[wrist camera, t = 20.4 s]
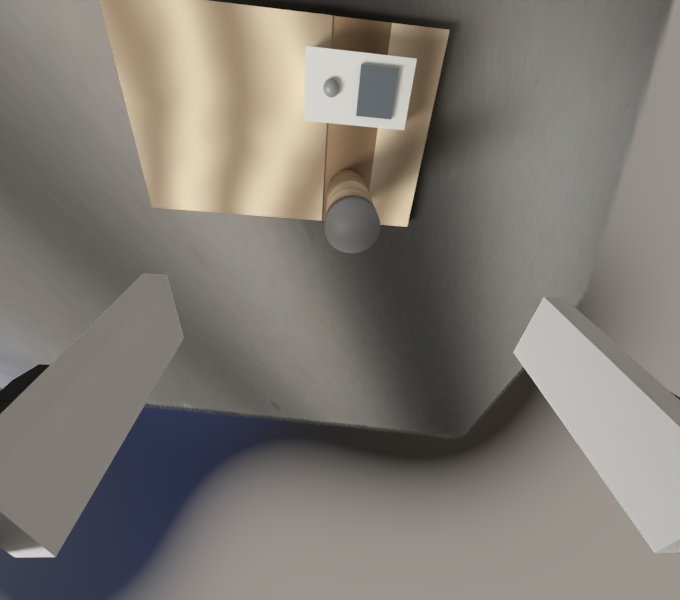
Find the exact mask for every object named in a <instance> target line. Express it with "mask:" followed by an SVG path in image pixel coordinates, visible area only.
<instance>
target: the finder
mask: <svg viewBox="0 0 680 600" xmlns="http://www.w3.org/2000/svg"><path fill="white" fill-rule="evenodd" d="M416 62H417V59H416V58H407V57H398V56H390V55H381V54H373V53H364V52H355V51H347V50H338V49H329V48H321V47H312V46H306V60H305V114H304V121H311V122H322V123H332V124H343V125H353V126H363V127H374V128H384V129H395V130H404V129H405V123H406V118H407V112H408V106H409V101H410V95H411V90H412V84H413V78H414V73H415V67H416Z"/></svg>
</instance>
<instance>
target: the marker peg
mask: <svg viewBox="0 0 680 600" xmlns="http://www.w3.org/2000/svg"><path fill="white" fill-rule="evenodd" d="M379 231H380V220H379V217H378V214H377V211H376V209H375V207H374V205H373V202H372V199H371V196H370V194H369V191H368V188H367V185H366V182H365V180H364V178H363V177H362V176H361V175H360V174H359V173H358V172H356V171H353V170H342V171H339V172H337V173H336V174H335V175H334V176H333V177H332V178H331V180H330V182H329V185H328V193H327V208H326V216H325V234H326V237H327V239H328V241H329V242H330V244H331V245H332V246H333V247H334V248H336V249H337V250H339V251H342V252H345V253H358V252H361V251H364V250H366V249H367V248H369V247H370V246H371V245H372V244H373V243H374V242H375V241H376V239H377V237H378V235H379Z"/></svg>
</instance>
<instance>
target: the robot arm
mask: <svg viewBox="0 0 680 600" xmlns="http://www.w3.org/2000/svg"><path fill="white" fill-rule="evenodd" d="M183 339H184V337H183V333H182V329H181V325H180V322H179V318H178V314H177V310H176V306H175V303H174V299H173V295H172V291H171V287H170V284H169V280H168V276H167V275H159V274H142V275H141V276H140V277H139V278H138V279H137V280H136V281H135V282H134V283H133V284H132V285H131V286H130V287H129V288H128V289H127V290H126V291H125V292H124V293H123V294H122V295H121V296H120V297H119V298H118V299H117V300H116V301H115V302H114V303H113V304H112V305H111V306H110V307H109V308H108V309H107V310H106V311H105V312H104V313H103V314H102V315H100V316H99V317H98V318H97V319H96V320H95V321H94V322H93V323H92V324H91V325H90V326H89V327H88V328H87V329H86V330H85V331H84V332H83V333H82V334H81V335H80V336H79V337H78V338H77V339H76V340H75V341H74V342H73V343H72V344H71V345H70V346H69V347H68V348H67V349H66V350H65V351H64V352H63V353H62V354H61V355H60V356H59V357H58V358H57V359H56V360H55V361H54V362H53V363H52V364H51V365H37V366H36V367H34V368H32V369H31V370H29V371H27V372H26V373H24V374H22V375H21V376H19V377H17V378H16V379H14V380H12V381H11V382H10V383H9V384H8V385H7V386H6V387H5V388H4V389H3V390H1V391H0V547H1V548H2V549H4V550H5V551H6V552H8V553H9V554H11V555H12V556H14V557H56V555H57V553H58V552H59V550H60V548H61V547H62V545H63V543H64V542H65V540H66V538H67V537H68V535H69V533H70V532H71V530H72V528H73V526H74V525H75V523H76V521H77V520H78V518H79V516H80V514H81V513H82V511H83V509H84V508H85V506H86V504H87V502H88V500H89V499H90V497H91V496H92V494H93V492H94V491H95V489H96V487H97V485H98V484H99V482H100V480H101V479H102V477H103V475H104V473H105V472H106V470H107V468H108V467H109V465H110V463H111V462H112V460H113V458H114V456H115V455H116V453H117V451H118V449H119V448H120V446H121V444H122V443H123V441H124V439H125V438H126V436H127V434H128V432H129V431H130V429H131V427H132V425H133V424H134V422H135V421H136V419H137V417H138V415H139V414H140V412H141V410H142V409H143V407H144V405H145V404H146V402H147V400H148V398H149V397H150V395H151V393H152V392H153V390H154V388H155V386H156V385H157V383H158V381H159V380H160V378H161V376H162V374H163V373H164V371H165V369H166V368H167V366H168V364H169V363H170V361H171V359H172V357H173V356H174V354H175V352H176V351H177V349H178V347H179V345H180V344H181V342H182V340H183ZM513 353H514V354H515V356H516V357H517V358H518V360H519V361H520V363H521V364H522V366H523V367H524V368H525V370H526V371H527V373H528V374H529V375H530V377H531V378H532V380H533V381H534V383H535V384H536V385H537V387H538V388H539V390H540V391H541V392H542V394H543V395H544V397H545V398H546V400H547V401H548V402H549V404H550V405H551V406H552V408H553V410H554V411H555V412H556V414H557V415H558V417H559V418H560V419H561V421H562V422H563V424H564V425H565V427H566V428H567V429H568V431H569V432H570V434H571V435H572V436H573V438H574V439H575V441H576V442H577V443H578V445H579V446H580V448H581V449H582V451H583V452H584V453H585V455H586V456H587V458H588V459H589V461H590V462H591V463H592V465H593V466H594V468H595V469H596V470H597V472H598V473H599V475H600V476H601V478H602V479H603V480H604V482H605V483H606V485H607V486H608V488H609V489H610V490H611V492H612V493H613V495H614V496H615V497H616V499H617V500H618V502H619V503H620V505H621V506H622V507H623V509H624V510H625V511H626V513H627V514H628V516H629V517H630V519H631V520H632V522H633V523H634V524H635V526H636V527H637V529H638V530H639V531H640V533H641V534H642V536H643V537H644V538H645V540H646V541H647V543H648V544H649V546H650V547H651V548H652V550H653V551H654V553H680V397H678V396H676V395H674V394H673V393H672V392H670V391H669V390H668V389H667V388H665V387H664V386H663V385H662V384H661V383H660V382H659V381H658V380H656V379H655V378H654V377H653V376H652V375H651V374H650V373H648V372H647V371H646V370H645V369H644V368H643V367H642V366H640V365H639V364H638V363H637V362H636V361H635V360H634V359H633V358H631V357H630V356H629V355H628V354H627V353H626V352H625V351H623V350H622V349H621V348H620V347H619V346H618V345H617V344H616V343H614V342H613V341H612V340H611V339H610V338H609V337H608V336H606V335H605V334H604V333H603V332H602V331H601V330H600V329H598V328H597V327H596V326H595V325H594V324H593V323H592V322H591V321H589V320H588V319H587V318H586V317H585V316H584V315H583V314H581V313H580V312H579V311H578V310H577V309H576V308H575V307H574V306H572V305H571V304H570V303H569V302H568V301H567V300H566V299H564V298H556V297H543V299H542V301H541V303H540V305H539V307H538V308H537V310H536V312H535V314H534V316H533V317H532V319H531V321H530V323H529V325H528V327H527V328H526V330H525V332H524V334H523V336H522V337H521V339H520V341H519V343H518V345H517V347H516V348H515V350H514V352H513Z"/></svg>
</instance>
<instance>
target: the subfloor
mask: <svg viewBox="0 0 680 600" xmlns="http://www.w3.org/2000/svg"><path fill="white" fill-rule="evenodd" d="M99 2H100V5H101V9H102V13H103V17H104V21H105V25H106V29H107V33H108V37H109V41H110V45H111V48H112V52H113V56H114V60H115V64H116V68H117V72H118V76H119V80H120V84H121V88H122V92H123V95H124V99H125V103H126V107H127V111H128V115H129V119H130V123H131V127H132V131H133V135H134V138H135V142H136V146H137V150H138V154H139V158H140V162H141V166H142V170H143V174H144V178H145V181H146V185H147V189H148V193H149V197H150V201H151V205H152V208H165V209H178V210H191V211H204V212H217V213H230V214H243V215H256V216H269V217H282V218H295V219H308V220H321V221H322V220H325V216H326V208H327V193H328V185H329V182H330V180H331V178H332V177H333V176H334V175H335V174H336V173H337V172H339V171H342V170H353V171H356V172H358V173H359V174H360V175H361V176H362V177H363V178H364V180H365V182H366V185H367V188H368V191H369V194H370V196H371V199H372V202H373V205H374V207H375V209H376V211H377V214H378V217H379V220H380V225H391V226H404V227H407V225H408V221H409V216H410V212H411V207H412V202H413V198H414V193H415V188H416V184H417V179H418V175H419V170H420V165H421V161H422V156H423V151H424V147H425V142H426V138H427V133H428V128H429V124H430V119H431V115H432V110H433V105H434V101H435V96H436V91H437V87H438V82H439V78H440V73H441V68H442V64H443V59H444V54H445V50H446V45H447V41H448V36H449V31H450V30H447V29H439V28H431V27H422V26H414V25H406V24H397V23H389V22H381V21H372V20H364V19H356V18H347V17H339V16H333V15H325V14H317V13H309V12H301V11H292V10H284V9H276V8H267V7H259V6H251V5H242V4H234V3H226V2H217V1H209V0H99ZM306 46H312V47H321V48H329V49H338V50H347V51H355V52H364V53H373V54H381V55H390V56H398V57H407V58H416V59H417V62H416V67H415V73H414V78H413V84H412V90H411V95H410V101H409V106H408V112H407V118H406V123H405V129H404V130H395V129H384V128H374V127H363V126H353V125H343V124H332V123H322V122H311V121H304V114H305V60H306Z"/></svg>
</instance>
